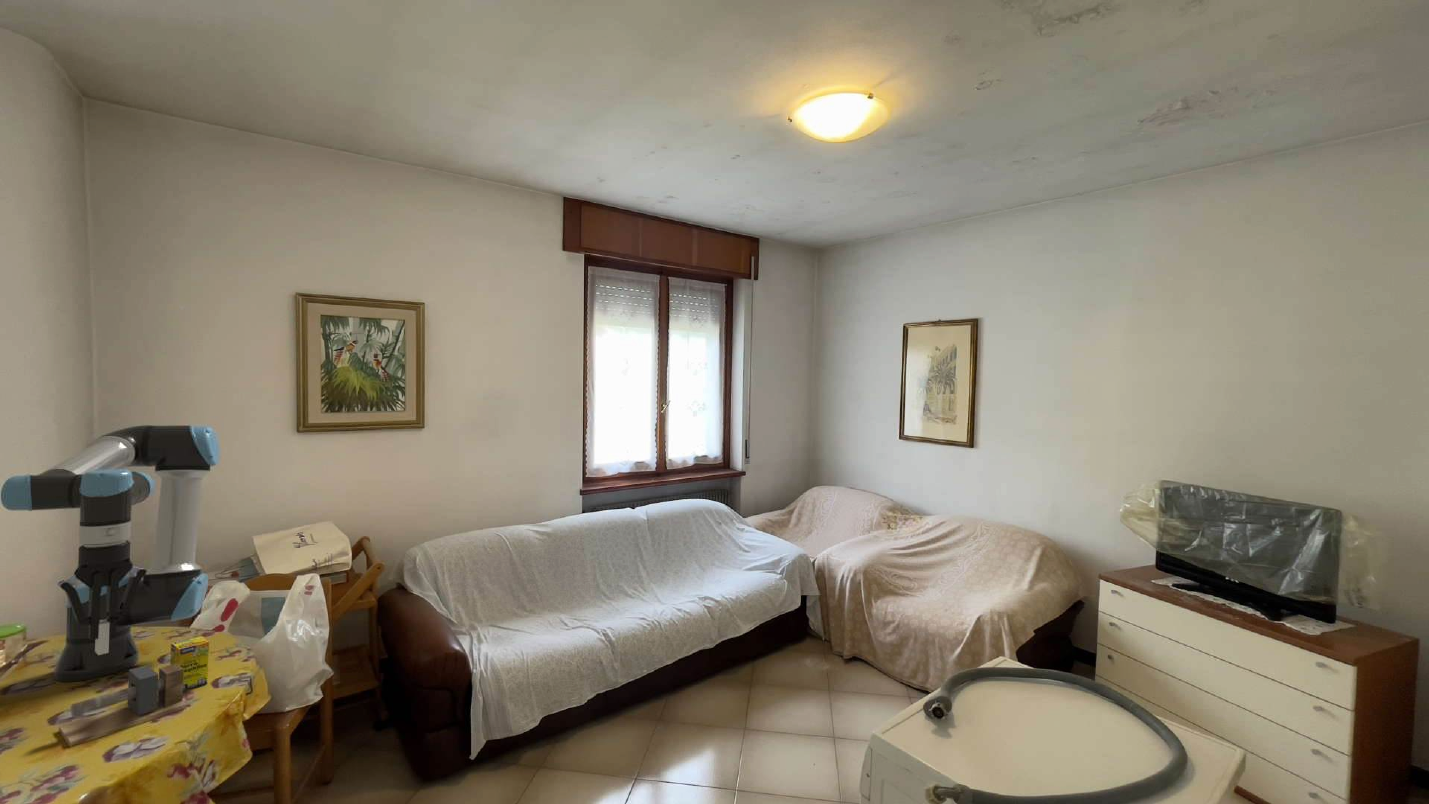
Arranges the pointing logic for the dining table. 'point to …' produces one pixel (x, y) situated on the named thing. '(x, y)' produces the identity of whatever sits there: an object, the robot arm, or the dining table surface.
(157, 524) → the robot arm
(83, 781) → the dining table surface
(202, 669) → the supplement box
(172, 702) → the pipe rig
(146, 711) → the dark grey flat block
